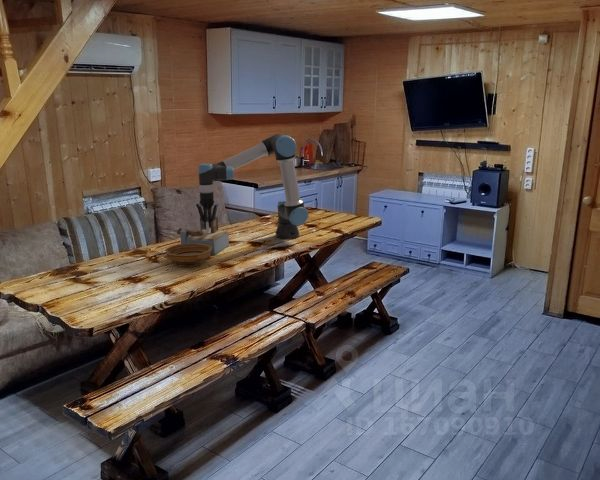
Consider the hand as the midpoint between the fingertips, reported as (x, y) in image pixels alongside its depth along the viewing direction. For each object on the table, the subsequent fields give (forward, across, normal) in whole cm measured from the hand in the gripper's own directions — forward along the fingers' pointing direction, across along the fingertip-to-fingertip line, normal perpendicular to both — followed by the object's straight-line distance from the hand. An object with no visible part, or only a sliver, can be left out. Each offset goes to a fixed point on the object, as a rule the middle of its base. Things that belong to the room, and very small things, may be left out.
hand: (208, 232), depth 304 cm
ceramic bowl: (+11, +1, +23) cm, 26 cm away
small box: (+11, +19, -41) cm, 47 cm away
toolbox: (+11, +5, -4) cm, 13 cm away
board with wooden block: (+3, +2, -4) cm, 6 cm away
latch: (+2, +12, 0) cm, 12 cm away
